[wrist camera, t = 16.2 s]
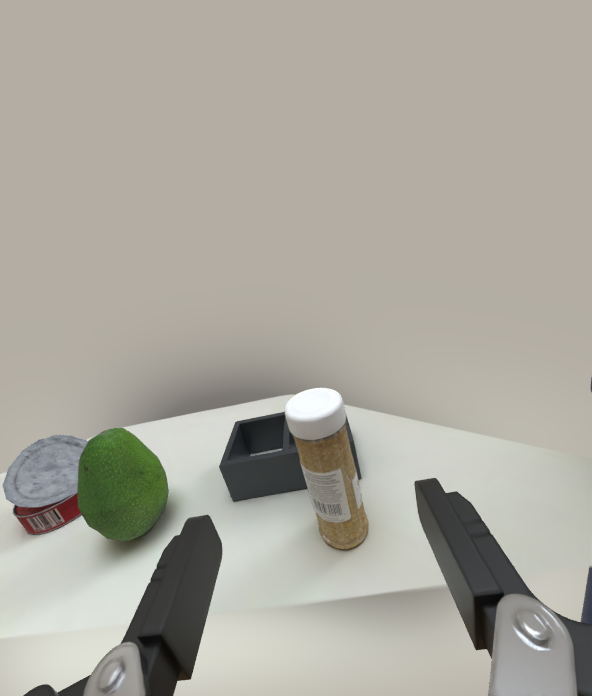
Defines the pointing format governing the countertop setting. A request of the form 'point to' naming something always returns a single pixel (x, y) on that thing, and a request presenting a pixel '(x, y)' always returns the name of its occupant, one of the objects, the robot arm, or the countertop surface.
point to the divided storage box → (265, 458)
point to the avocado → (120, 485)
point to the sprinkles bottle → (328, 465)
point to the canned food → (45, 483)
